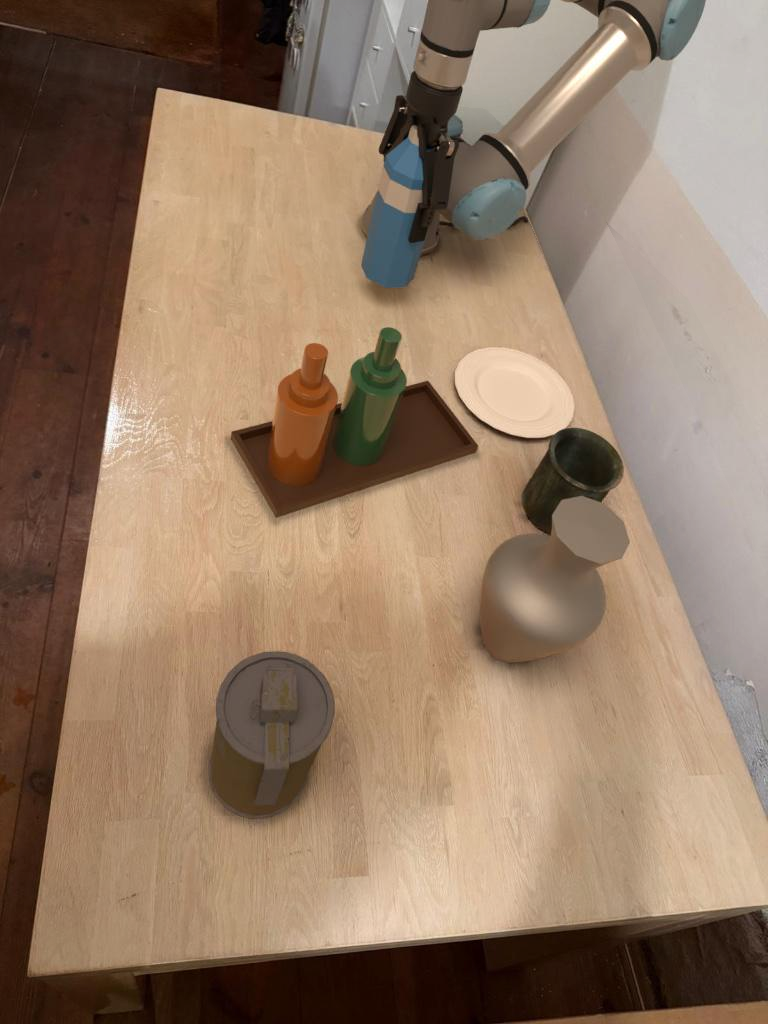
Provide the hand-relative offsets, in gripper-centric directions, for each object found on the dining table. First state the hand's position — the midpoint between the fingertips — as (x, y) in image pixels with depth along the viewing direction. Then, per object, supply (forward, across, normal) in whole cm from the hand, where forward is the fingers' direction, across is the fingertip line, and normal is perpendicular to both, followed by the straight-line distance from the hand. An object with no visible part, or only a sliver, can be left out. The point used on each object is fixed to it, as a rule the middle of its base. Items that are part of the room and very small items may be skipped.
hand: (400, 222), depth 120 cm
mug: (+15, +52, 0) cm, 54 cm away
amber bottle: (+14, +30, -32) cm, 46 cm away
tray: (+15, +30, -22) cm, 40 cm away
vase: (+15, +65, -19) cm, 69 cm away
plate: (+15, +29, +9) cm, 34 cm away
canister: (+15, +66, -54) cm, 87 cm away
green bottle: (+14, +30, -22) cm, 40 cm away
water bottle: (+10, 0, 0) cm, 10 cm away
